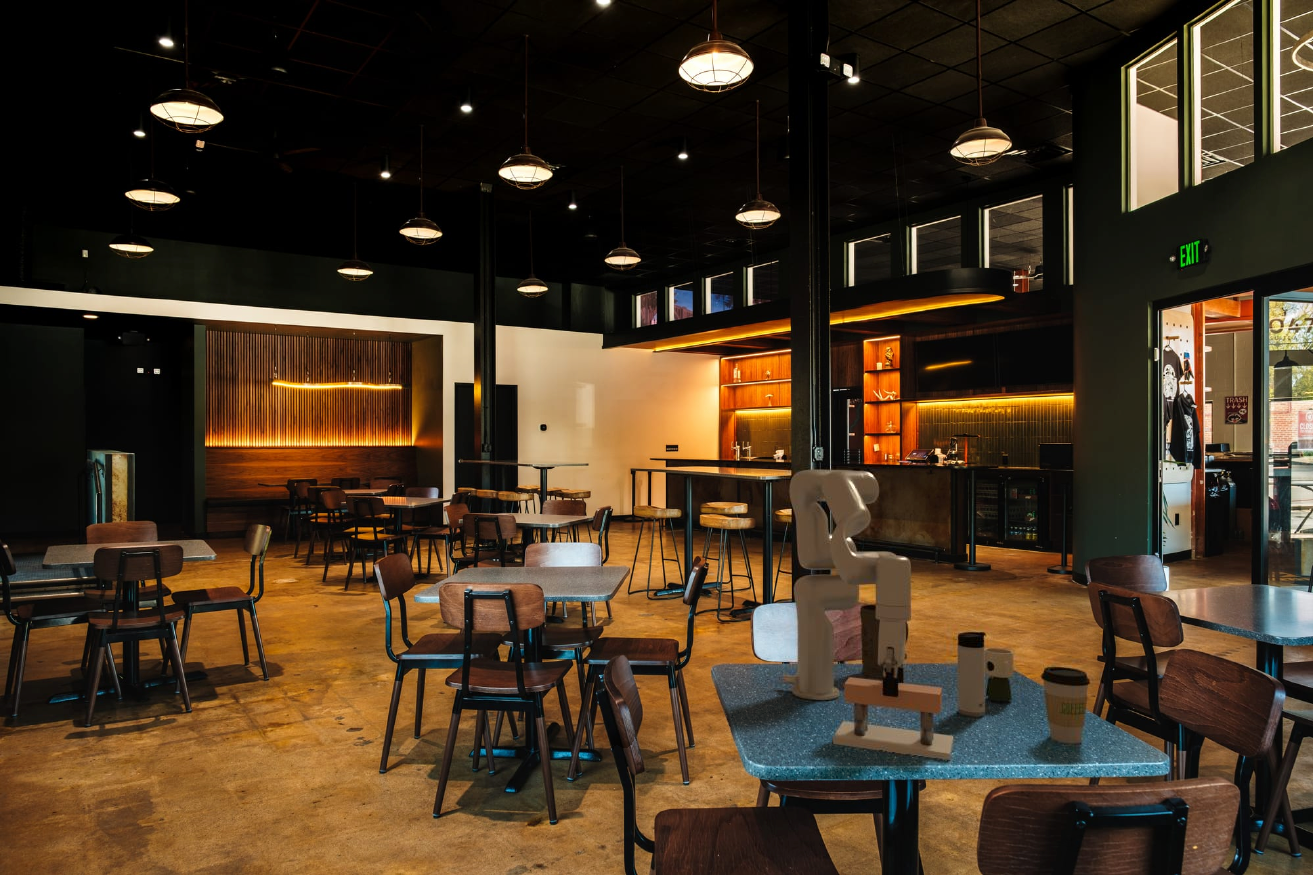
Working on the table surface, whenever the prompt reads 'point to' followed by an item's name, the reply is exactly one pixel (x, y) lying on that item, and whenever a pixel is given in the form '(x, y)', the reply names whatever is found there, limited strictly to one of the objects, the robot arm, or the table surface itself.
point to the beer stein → (871, 642)
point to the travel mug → (971, 674)
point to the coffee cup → (1065, 702)
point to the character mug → (998, 673)
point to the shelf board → (907, 697)
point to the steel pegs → (925, 723)
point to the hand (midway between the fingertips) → (893, 690)
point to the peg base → (894, 741)
